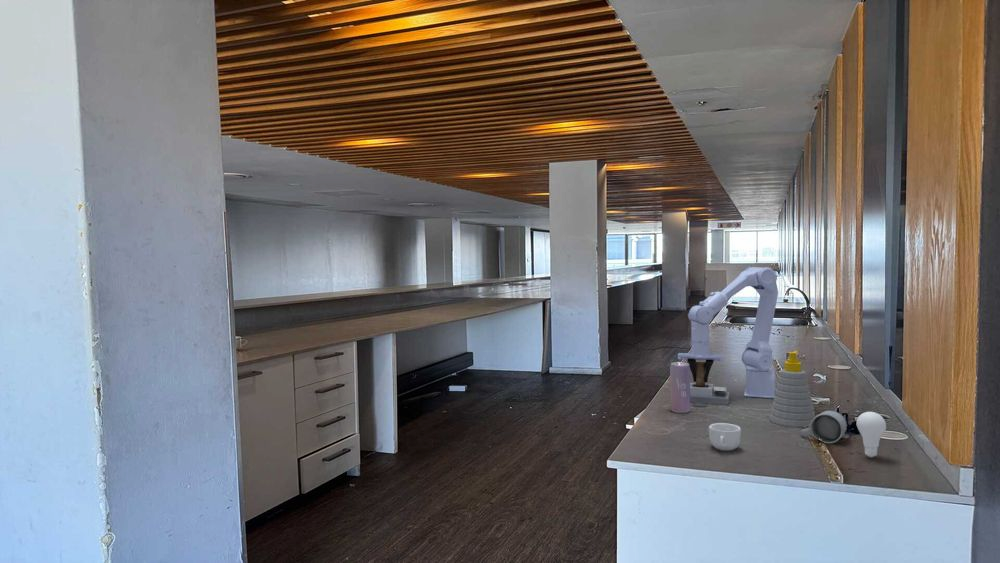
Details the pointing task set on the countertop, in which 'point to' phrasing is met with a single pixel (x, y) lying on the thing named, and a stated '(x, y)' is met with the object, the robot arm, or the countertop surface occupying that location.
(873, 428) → the lightbulb
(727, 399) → the grey fixture with socket
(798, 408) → the soap bottle
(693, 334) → the robot arm
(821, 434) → the ceramic mug
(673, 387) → the beverage can
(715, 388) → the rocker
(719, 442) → the teacup
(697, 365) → the dowel
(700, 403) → the coaster
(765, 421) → the countertop surface
